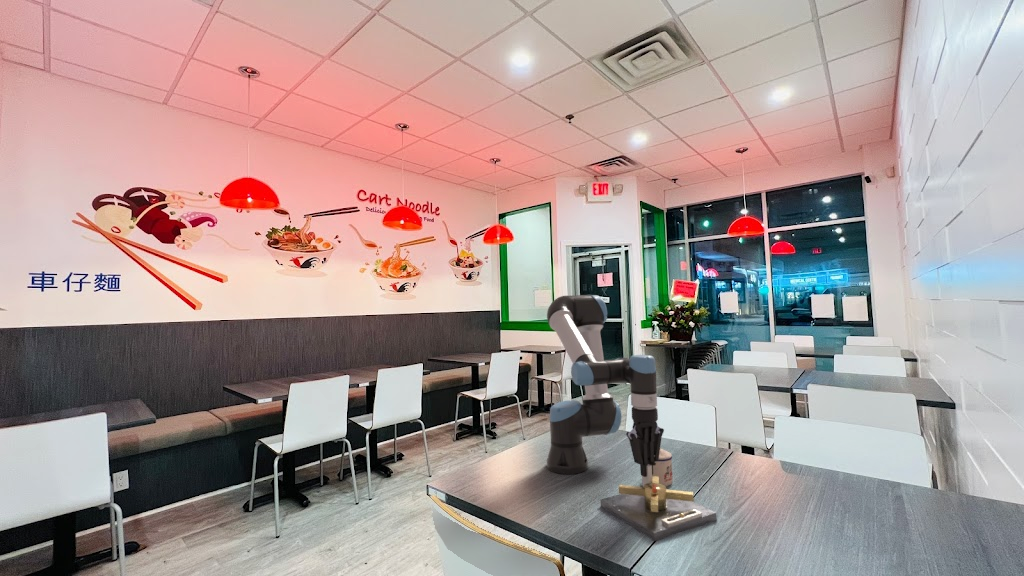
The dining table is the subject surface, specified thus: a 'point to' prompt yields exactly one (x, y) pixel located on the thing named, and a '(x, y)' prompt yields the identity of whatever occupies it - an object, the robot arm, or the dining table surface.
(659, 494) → the capstan
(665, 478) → the teacup with lid
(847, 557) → the dining table surface
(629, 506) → the stand
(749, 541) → the dining table surface
